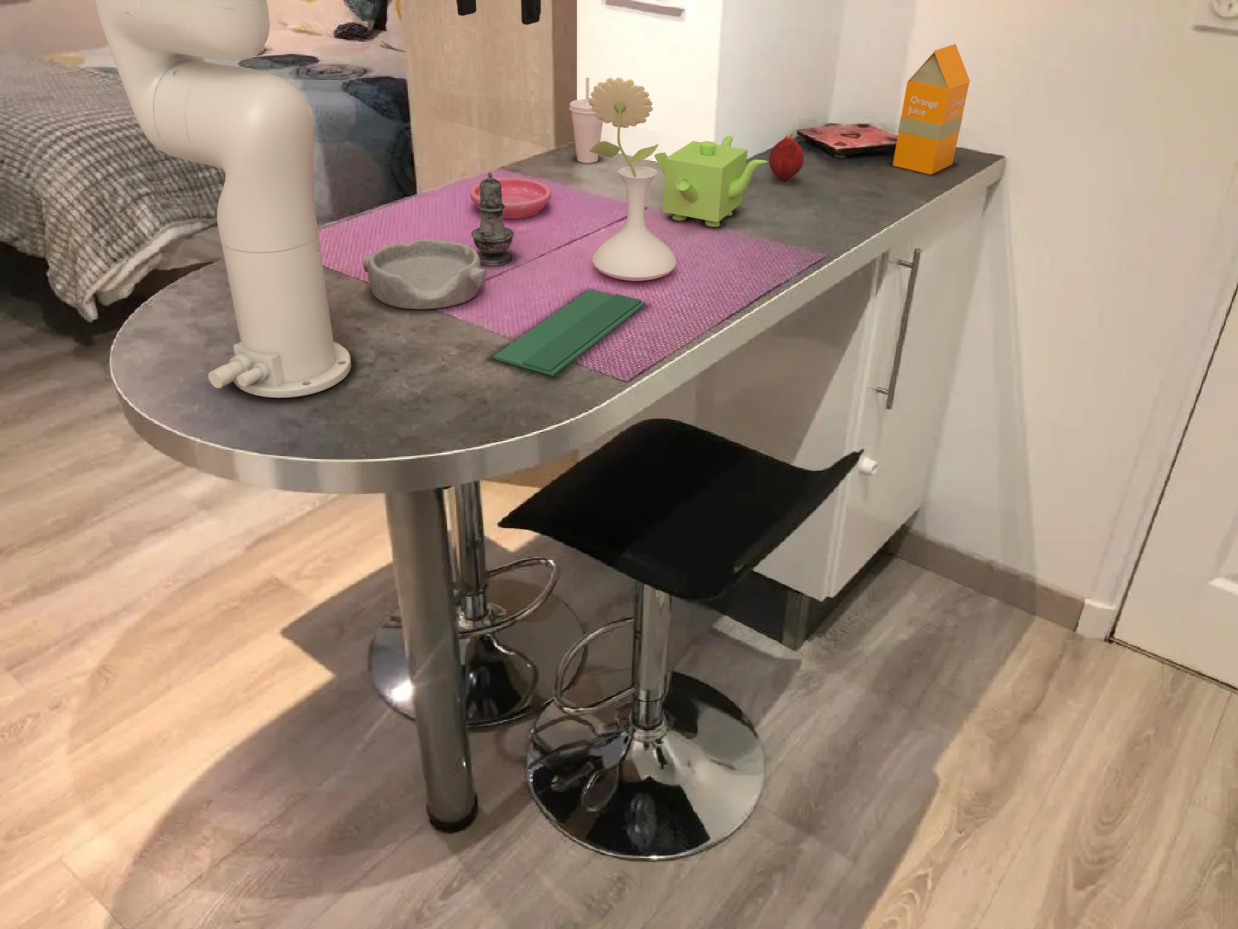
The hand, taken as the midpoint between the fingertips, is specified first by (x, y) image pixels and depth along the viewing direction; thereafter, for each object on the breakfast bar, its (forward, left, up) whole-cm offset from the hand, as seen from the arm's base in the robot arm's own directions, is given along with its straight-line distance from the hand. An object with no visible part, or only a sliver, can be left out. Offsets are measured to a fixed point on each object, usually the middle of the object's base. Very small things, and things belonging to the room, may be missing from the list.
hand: (498, 18), depth 128 cm
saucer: (+13, +8, -30) cm, 34 cm away
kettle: (+27, -19, -30) cm, 45 cm away
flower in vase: (+1, -19, -30) cm, 36 cm away
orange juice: (+73, -41, -30) cm, 89 cm away
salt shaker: (-5, -1, -30) cm, 31 cm away
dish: (-19, 0, -30) cm, 36 cm away
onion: (+50, -23, -30) cm, 63 cm away
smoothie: (+42, +11, -30) cm, 53 cm away
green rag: (-19, -22, -30) cm, 42 cm away
